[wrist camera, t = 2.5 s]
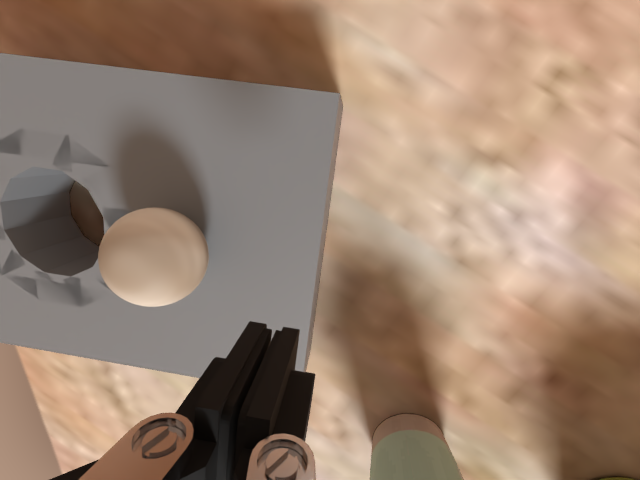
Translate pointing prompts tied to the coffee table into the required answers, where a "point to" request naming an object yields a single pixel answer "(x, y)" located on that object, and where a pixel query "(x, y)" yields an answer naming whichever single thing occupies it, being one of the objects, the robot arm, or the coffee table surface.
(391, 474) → the coffee cup
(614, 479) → the plant pot
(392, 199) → the coffee table surface
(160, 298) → the ball
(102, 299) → the grey flat block
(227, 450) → the robot arm
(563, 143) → the coffee table surface
